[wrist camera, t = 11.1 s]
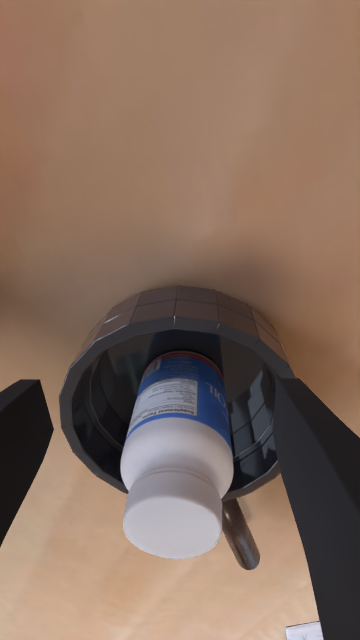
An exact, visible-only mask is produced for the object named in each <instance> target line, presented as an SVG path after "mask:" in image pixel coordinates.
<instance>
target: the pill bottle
mask: <svg viewBox="0 0 360 640" xmlns="http://www.w3.org/2000/svg"><path fill="white" fill-rule="evenodd" d="M120 468H121V476H122V479H123V482H124V484H125V486H126V488H127V489H128V491H129V492H128V495H127V502H126V507H125V512H124V518H123V528H124V532H125V534H126V536H127V538H128V539H129V540H130V542H131V543H132V544H133V545H135V546H136V547H137V548H139V549H140V550H142V551H144V552H146V553H148V554H151V555H154V556H157V557H162V558H168V559H186V558H192V557H196V556H199V555H202V554H204V553H206V552H208V551H209V550H211V549H212V548H214V546H216V544H217V543H218V542H219V540H220V538H221V535H222V501H221V499H222V497H223V496H224V495H225V494H226V492H227V491H228V489H229V487H230V485H231V483H232V479H233V454H232V446H231V437H230V428H229V419H228V411H227V401H226V392H225V384H224V379H223V376H222V374H221V372H220V370H219V368H218V367H217V366H216V365H215V364H214V363H213V362H212V361H211V360H210V359H208V358H206V357H205V356H203V355H200V354H198V353H195V352H190V351H173V352H168V353H165V354H163V355H161V356H159V357H157V358H156V359H155V360H154V361H152V362H151V363H150V364H149V366H148V367H147V368H146V370H145V372H144V374H143V377H142V380H141V383H140V387H139V391H138V395H137V399H136V403H135V406H134V410H133V414H132V418H131V422H130V426H129V430H128V433H127V437H126V441H125V445H124V449H123V452H122V457H121V465H120Z"/></svg>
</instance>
